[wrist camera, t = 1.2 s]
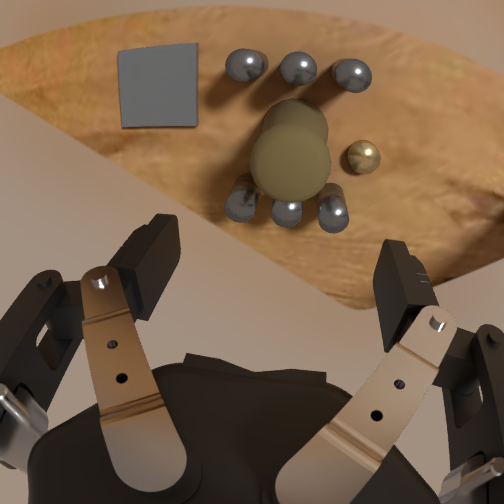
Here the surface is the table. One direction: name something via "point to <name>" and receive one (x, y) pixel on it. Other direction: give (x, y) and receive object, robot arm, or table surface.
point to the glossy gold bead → (363, 157)
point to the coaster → (159, 85)
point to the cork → (291, 152)
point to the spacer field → (299, 73)
